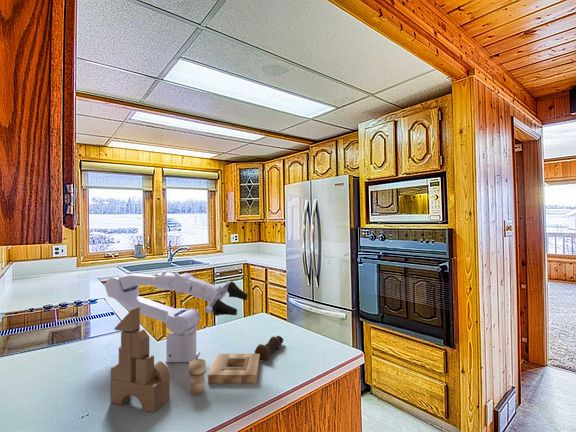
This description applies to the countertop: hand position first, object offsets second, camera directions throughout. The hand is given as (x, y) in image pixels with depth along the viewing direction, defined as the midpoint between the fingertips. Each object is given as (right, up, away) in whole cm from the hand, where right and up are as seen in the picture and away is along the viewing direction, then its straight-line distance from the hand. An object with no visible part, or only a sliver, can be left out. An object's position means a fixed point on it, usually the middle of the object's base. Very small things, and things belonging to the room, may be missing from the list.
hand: (241, 304), depth 103 cm
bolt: (+9, -20, +9) cm, 24 cm away
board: (-1, -20, -5) cm, 20 cm away
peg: (-10, -20, -16) cm, 27 cm away
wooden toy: (-25, -20, -20) cm, 37 cm away
